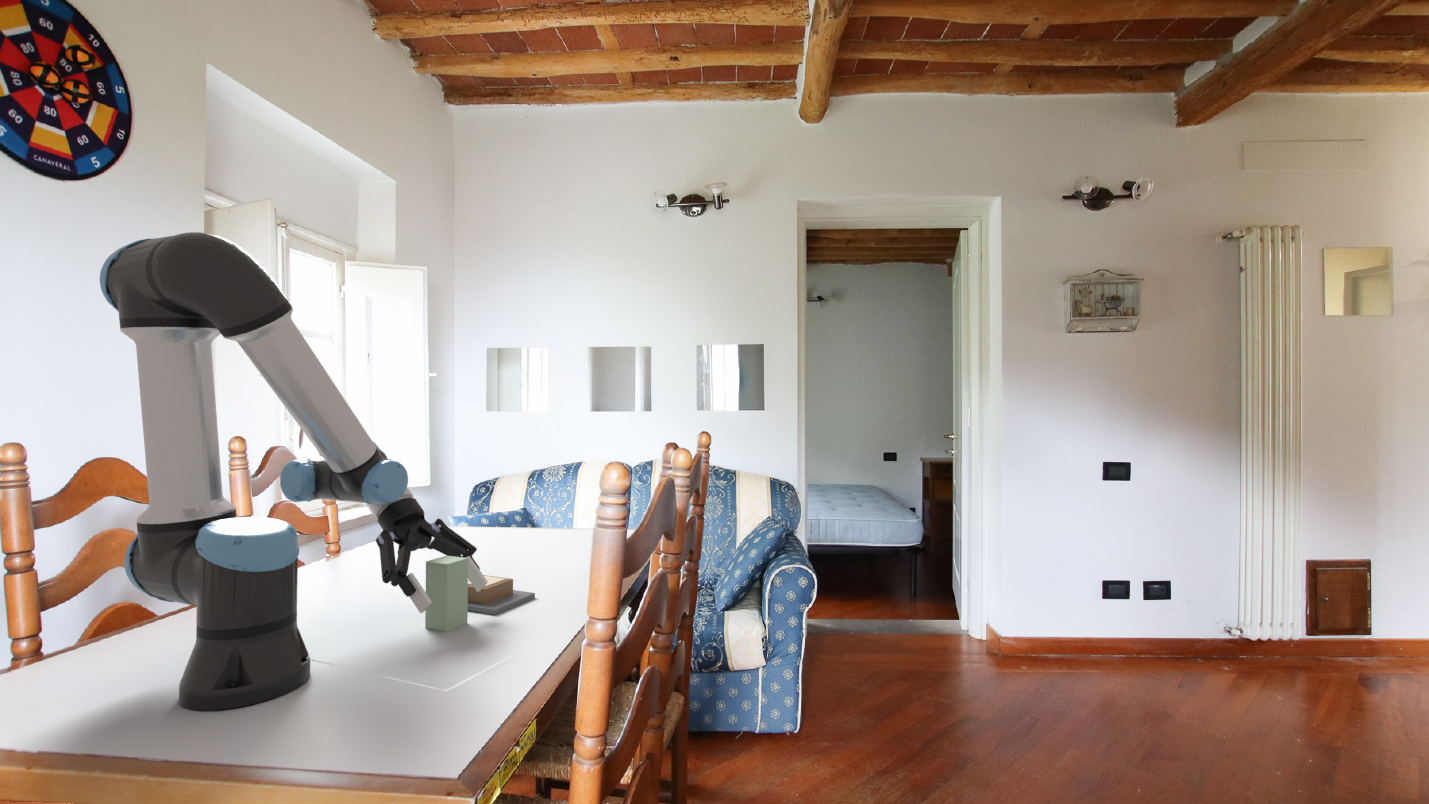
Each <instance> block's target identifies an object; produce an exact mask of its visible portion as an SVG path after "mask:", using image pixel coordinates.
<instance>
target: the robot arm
mask: <svg viewBox="0 0 1429 804" xmlns="http://www.w3.org/2000/svg"><path fill="white" fill-rule="evenodd" d="M99 286H100V290H101V293H102V295H103V296H104V299H106V302H107V303H108V304H109V305H111V306H112V308H114V309H115V310H116V311H117V312H118V321H119V330H120V332H121V333H123V334H124V335H125V336H127V338H129V339H131V340H132V341H133V342H134V343H135V348H136V349H135V350H136V360H137V361H136V362H137V374H138V384H139V385H138V386H139V399H140V409H141V421H142V434H143V445H144V457H145V466H146V480H147V482H146V483H147V492H148V493H147V494H148V503H149V504H148V507H147V508H146V509H145V510H144V511H143V512H142V513H141V514H140V515H139V516H138V517H137V518H136V531H137V534H136V536H135V538H134V539H133V540H132V541H131V542H130V543H129V544H128V546H127V549H126V551H125V555H124V562H123V564H124V571H125V574H126V576H127V578H128V580H129V582H130V583H131V584H132V585H133V587H135V588H136V589H137V590H139V591H140V592H141V593H143V594H146V595H148V596H149V597H151V598H156V599H157V600H159V601H164V602H169V603H179V604H184V605H189V606H194V607H196V614H195V615H196V620H195V621H196V631H195V632H196V634H195V635H196V636H195V643H194V646H193V648H192V651H191V654H190V656H189V659H188V661H187V663H186V667H185V669H184V671H183V674H182V677H181V678H180V681H179V685H178V702H179V704H180V706H182V707H184V708H186V709H189V710H197V711H219V710H227V709H233V708H234V709H235V708H241V707H245V706H246V707H247V706H249V705H254V704H258V703H261V702H265V701H268V700H271V699H274V698H275V699H276V698H277V697H280V696H282V695H284V694H287V693H289V692H291V691H294V690H296V689H298V687H300V686H302V685H303V684H304V683H305V682H307V680H309V678H310V676H311V657H310V655H309V651H308V649H307V647H306V644H305V642H304V640H303V636H302V633H301V632H300V631H301V630H300V629H299V626H298V574H299V573H298V572H299V571H298V569H299V568H298V567H299V566H298V565H299V564H298V563H299V555H300V547H299V539H298V532H297V530H296V528H295V527H294V525H292V524H291V523H290V522H288V521H285V520H281V519H279V518H272V517H266V516H265V517H257V516H256V517H255V516H237V515H238V514H237V508H236V504H234V503H233V502H231V501H230V500H227V499H226V498H225V497H224V495H223V487H222V486H223V484H222V483H223V482H222V472H221V471H222V470H221V456H220V444H219V430H218V416H217V404H216V391H215V375H214V364H213V353H212V352H213V351H212V344H213V343H212V342H213V341H214V340H216V338H217V337H219V336H220V335H222V337H223V338H224V339H226V340H230V341H235V342H236V343H237V344H238V345H239V347H241V349H242V350H243V352H244V353H245V354H246V356H247V357H248V359H249V360H250V361H251V363H252V364H253V366H254V367H255V369H257V372H259V374H260V375H261V376H262V378H264V381H265V382H266V383H267V384H268V386H269V387H270V388H271V390H272V391H273V393H274V394H275V395H276V396H277V398H278V399H279V400H280V402H281V403H282V405H283V406H284V407H285V409H286V410H287V411H288V413H289V414H290V416H291V417H292V418H293V419H294V421H295V422H296V423H297V425H298V426H299V427H300V429H301V430H302V432H303V433H304V434H305V436H306V437H307V438H308V440H309V441H310V442H311V443H312V445H313V446H314V448H315V450H316V451H317V452H318V453H319V454H320V456H316V457H304V458H299V459H293V460H290V461H288V462H286V464H285V465H283V468H282V469H281V472H280V475H279V478H280V479H279V481H280V482H279V483H280V484H279V485H280V489H281V492H282V494H283V496H285V498H286V499H287V500H289V501H290V502H294V503H299V502H301V503H302V502H309V503H310V502H311V501H314V500H329V501H341V502H352V503H363V504H365V505H366V507H367V508H368V510H369V511H370V512H371V514H372V516H374V518H375V519H376V520H377V523H378V525H379V526H380V528H381V529H382V531H380V533H379V534H378V535H377V537H376V539H375V543H376V544H377V546H378V549H379V555H380V556H379V558H380V566H381V567H380V568H381V569H380V570H381V579H382V582H383V583H384V584H388V583H390V584H391V586H392V587H397V586H399V588H400V590H401V591H402V592H403V594H404V595H405V596H406V597H408V598H409V599H410V600H411V601H412V603H413V604H414V606H415V607H416V609H417V611H418V612H419V614H422V613H424V612H425V611H426V609H427V608H428V607H429V606H430V604H431V603H432V601H431V600H430V598H429V597H428V595H427V594H426V590H424V588H423V586H422V584H421V583H420V582H419V581H418V579H417V577H416V576H415V574H414V573H413V572H411V573H408V571H409V566H410V560H411V554H412V552H414V551H417V550H422V549H423V550H424V549H428V550H435V551H437V552H439V553H442V554H443V555H444V556H455V557H463V558H468V580H469V581H470V582H471V584H472V585H473V586H474V588H475V589H476V591H477V592H479V591H481V589H482V588H483V587H484V586H485V585H486V584H487V583H488V581H487V580H486V578H485V577H484V576H483V575H484V574H483V573H482V571H481V568H480V566H479V564H478V563H477V562H476V560H475V559H474V558H473V555H475V553H476V552H477V551H478V548H477V547H476V546H475V545H473V544H472V543H471V542H469V541H468V540H467V539H465V538H464V537H463V536H461V535H459V534H458V533H457V532H455V531H454V530H453V529H451V528H450V527H449V526H448V525H446V523H445V522H444V521H443V520H442V519H441V518H436V519H435V521H434V522H431V523H429V522H428V521H427V520H426V518H425V510H424V509H423V508H422V506H421V505H420V503H419V502H418V501H417V499H416V498H414V495H413V493H412V491H411V490H410V489H409V487H408V484H409V475H408V471H407V468H406V467H405V466H404V465H403V464H402V463H400V462H399V461H395V460H393V459H390V458H389V459H388V456H387V455H386V453H385V452H384V451H382V449H381V448H380V447H379V446H378V445H377V443H376V442H374V441H373V440H372V439H371V437H370V435H369V434H368V432H367V431H366V429H365V428H364V426H363V424H361V422H360V420H359V419H358V417H357V415H356V414H355V413H354V410H352V408H351V407H350V405H349V404H348V402H347V401H346V399H345V398H344V396H343V395H342V393H341V392H340V390H339V389H338V387H337V385H336V384H335V383H334V381H333V379H332V378H331V377H330V375H329V373H328V372H327V371H326V368H325V367H324V365H323V364H322V363H321V361H320V360H319V358H318V357H317V356H316V354H315V352H314V351H313V349H312V348H311V347H310V345H309V343H308V342H307V339H305V338H304V335H303V334H302V333H301V332H300V330H299V329H298V326H297V325H296V324H295V323H294V321H293V319H292V315H293V310H294V307H293V306H292V304H291V303H290V301H289V299H288V298H287V297H286V295H285V294H284V292H283V290H282V289H281V288H280V286H279V285H278V284H277V282H276V281H275V280H274V278H273V277H272V276H271V275H270V274H269V273H268V271H266V269H265V267H263V266H262V265H261V263H259V262H258V261H257V260H256V259H255V258H254V257H253V256H252V255H251V254H249V253H248V252H247V251H246V250H244V249H243V248H242V247H241V246H239V245H237V244H236V243H234V242H232V241H231V240H229V239H227V238H223V237H222V236H219V235H216V234H212V233H207V232H201V231H195V232H194V231H193V232H191V231H190V232H183V233H178V234H176V235H175V234H174V235H168V236H162V237H156V238H144V239H140V240H135V241H133V242H131V243H128V244H126V245H123V246H122V247H119V248H118V249H116V250H115V251H114V252H112V253H111V254H110V255H109V256H108V257H107V258H106V260H105V261H104V263H103V264H102V266H101V269H100V273H99ZM395 544H397V545H398V549H397V560H396V554H395Z"/></svg>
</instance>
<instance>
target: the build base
mask: <svg viewBox="0 0 1429 804" xmlns="http://www.w3.org/2000/svg"><path fill="white" fill-rule="evenodd" d="M483 576H484V577H485V578H486V580H487V581H488V583H487V584H486V585H485V586H484V587H483V588H482V589H481V591H479V592H477V591H476V589H475V588H474V586H473V585H472V584H471V582H470V581H469V579H468V607H467V612H472V613H473V612H474V613H480V614H487V615H492V616H496V615H498V614H501V613H503V612H505V611H507V610H510V609H511V608H512V609H513V608H515V607H517V606H519V605H521V604H523V603H526V602H528V601H530V600H531V601H532V600H533V599H535V598H536V593H535V592H531V591H523V590H515V589H514V578H510V577H509V578H508V577H501V576H494V575H485V574H483Z"/></svg>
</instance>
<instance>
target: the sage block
mask: <svg viewBox="0 0 1429 804" xmlns="http://www.w3.org/2000/svg"><path fill="white" fill-rule="evenodd" d="M468 580H469V579H468V558H463V557H455V556H447V555H444V556H441V557H437V558H433V559H431V560H426V561H425V592H426V594H427V595H428V597H429V598H430V600H431V601H432V603H431V604H430V606H429V607H428V608H427V609H426V610H425V611H424V612H425V614H424V615H425V619H424V620H425V621H424V624H425V625H424V626H425V629H428V630H433V631H439V632H446V633H447V632H450V631H452V630H455V629H456V628H459V627H462V626H464V625H466V624H468V611H467V607H468Z"/></svg>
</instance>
